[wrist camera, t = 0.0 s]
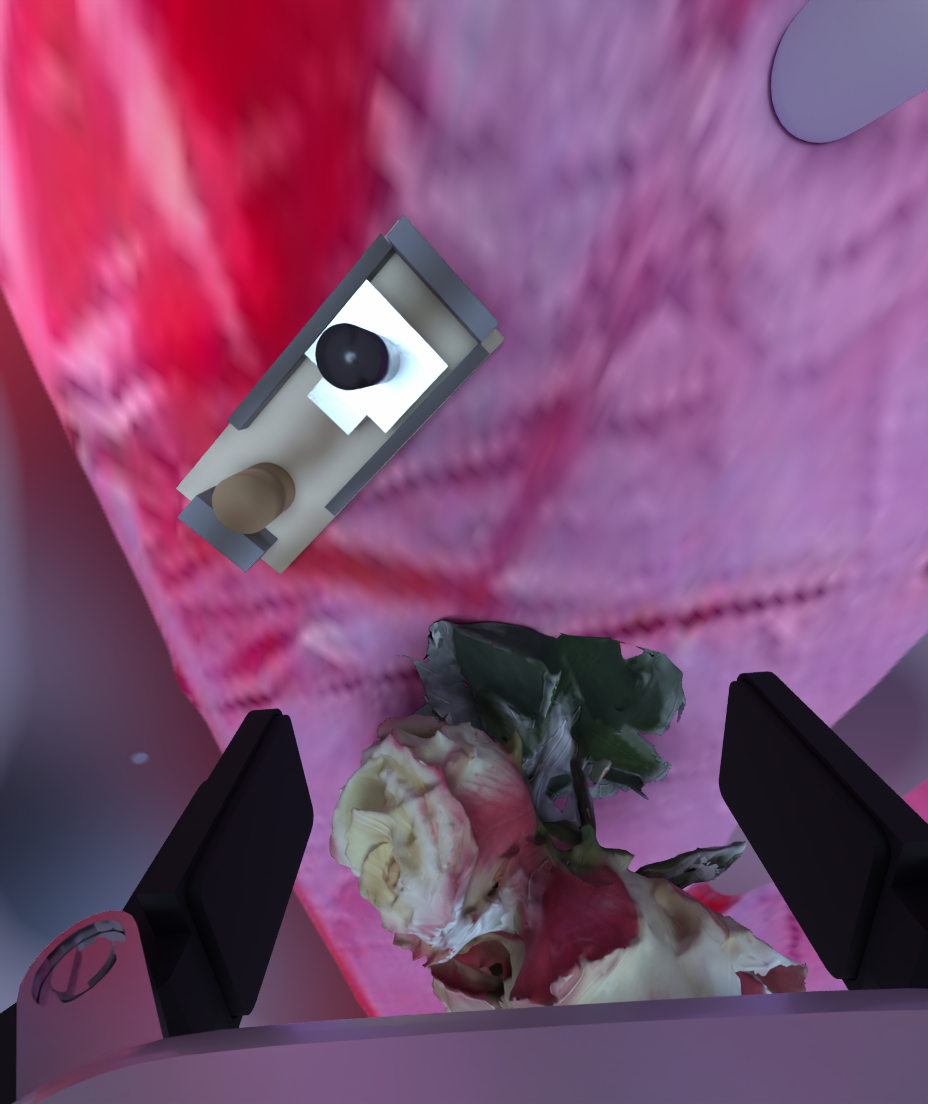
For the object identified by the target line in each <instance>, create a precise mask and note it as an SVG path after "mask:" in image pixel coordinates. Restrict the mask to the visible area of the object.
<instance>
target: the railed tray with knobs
mask: <svg viewBox="0 0 928 1104" xmlns="http://www.w3.org/2000/svg"><path fill="white" fill-rule="evenodd" d="M366 280H368V281H369V282H370V283H371V284H372V285H373V286H374V287H375V288H376V289H377V290H378V291H379V292H380V293H381V294H382V295H383V296H384V297H385V299H386V300H387V301H388V302H389V303H390V304H391V305H392V306H393V307H394V308H395V309H396V310H397V311H398V312H399V313H400V315H401V316H402V317H403V318H404V319H405V320H406V321H407V322H408V323H409V324H410V325H411V326H412V327H413V328H414V329H415V330H416V332H417V333H418V334H419V335H420V336H421V337H422V338H423V339H424V340H425V341H426V342H427V343H428V344H429V345H430V346H431V347H432V349H433V350H434V351H435V352H436V353H437V354H438V355H439V356H440V357H441V358H442V359H443V360H444V361H445V362H446V363H447V365H448V366H449V367H448V368H447V369H446V370H445V371H444V372H443V373H442V374H441V375H440V376H439V377H438V378H437V380H436V381H435V382H434V383H433V384H432V385H431V386H430V387H429V388H428V389H427V390H426V391H425V392H424V393H423V395H422V396H421V397H420V398H419V399H418V400H417V401H416V402H415V403H414V404H413V405H412V406H411V407H410V408H409V409H408V411H407V412H406V413H405V414H404V415H403V416H402V417H401V418H400V419H399V420H398V421H397V422H396V423H395V424H394V425H393V427H392V428H391V429H389V430H388V431H387V432H386V433H385V432H384V431H383V430H382V429H381V428H380V427H379V426H378V425H377V424H376V423H375V422H374V421H373V420H372V419H371V418H370V417H369V416H368V418H367V419H366V420H365V421H364V422H363V423H362V424H361V425H360V426H359V427H358V428H357V430H356V431H354V432H353V433H351V434H349V435H348V434H347V433H346V432H345V431H343V430H342V429H341V428H340V427H339V426H338V425H337V424H336V423H335V422H334V421H333V420H332V419H331V418H330V417H329V416H328V415H327V414H326V413H325V412H323V411H322V410H321V409H320V408H319V407H318V406H317V405H316V404H315V403H314V402H313V401H312V400H311V399H310V398H309V397H308V394H309V393H310V392H311V391H312V390H313V389H314V388H315V386H316V385H317V384H318V383H319V382H320V381H321V379H322V378H323V376H322V375H321V373H320V371H319V369H318V367H317V365H316V364H315V363H314V362H312V361H311V360H310V359H309V358H308V357H307V356H306V355H305V352H306V351H307V350H308V349H309V348H310V347H311V345H312V344H313V343H314V342H315V341H316V339H317V338H318V337H319V336H320V335H321V333H322V332H323V331H324V330H325V329H326V327H327V326H328V325H329V324H330V323H331V321H332V320H333V319H334V318H335V317H336V316H337V314H338V313H339V312H340V311H341V310H342V308H343V307H344V306H345V305H346V304H347V302H348V301H349V300H350V299H351V298H352V296H353V295H354V294H355V293H356V292H357V290H358V289H359V288H360V287H361V286H362V284H363V283H364V282H365V281H366ZM498 324H499V322H498V321H497V320H496V319H495V318H494V317H493V316H492V314H491V313H490V312H489V311H488V310H487V309H486V308H485V306H484V305H483V304H482V303H481V302H480V301H479V300H478V299H477V297H476V296H475V295H474V294H473V293H472V292H471V291H470V289H469V288H468V287H467V286H466V285H465V284H464V283H463V282H462V280H461V279H460V278H459V277H458V276H457V275H456V274H455V272H454V271H453V270H452V269H451V268H450V267H449V266H448V265H447V263H446V262H445V261H444V260H443V259H442V258H441V257H440V255H439V254H438V253H437V252H436V251H435V250H434V249H433V248H432V246H431V245H430V244H429V243H428V242H427V241H426V240H425V238H424V237H423V236H422V235H421V234H420V233H419V232H418V231H417V229H416V228H415V227H414V226H413V225H412V224H411V223H410V221H409V220H408V219H407V218H406V217H405V216H404V215H403V216H402V217H401V219H400V220H398V221H397V222H396V224H395V225H394V226H393V227H392V228H391V230H390V231H389V232H388V233H387V234H386V236H385V237H383V236H382V234H380V235H379V236H378V237H377V239H376V240H375V241H374V242H373V243H372V245H371V246H370V247H369V248H368V250H367V251H366V252H365V253H364V254H363V256H362V257H361V258H360V259H359V260H358V262H357V263H356V264H355V265H354V267H353V268H352V269H351V270H350V271H349V273H348V274H347V275H346V276H345V277H344V279H343V280H342V281H341V282H340V284H339V285H338V286H337V287H336V288H335V290H334V291H333V292H332V293H331V294H330V296H329V297H328V298H327V299H326V300H325V302H324V303H323V304H322V305H321V307H320V308H319V309H318V310H317V311H316V313H315V314H314V315H313V316H312V317H311V319H310V320H309V321H308V322H307V324H306V325H305V326H304V327H303V328H302V330H301V331H300V332H299V333H298V334H297V336H296V337H295V338H294V339H293V341H292V342H291V343H290V344H289V345H288V347H287V348H286V349H285V350H284V351H283V353H282V354H281V355H280V356H279V358H278V359H277V360H276V361H275V362H274V364H273V365H272V366H271V367H270V368H269V370H268V371H267V372H266V373H265V375H264V376H263V377H262V378H261V379H260V381H259V382H258V383H257V384H256V385H255V387H254V388H253V389H252V390H251V391H250V393H249V394H248V395H247V396H246V398H245V399H244V400H243V401H242V402H241V404H240V405H239V406H238V407H237V408H236V410H235V411H234V412H233V413H232V415H231V416H230V417H229V418H228V419H227V421H228V422H229V423H230V424H229V425H228V426H227V428H226V429H225V430H224V431H223V432H222V434H221V435H220V436H219V437H218V439H217V440H216V441H215V442H214V443H213V445H212V446H211V447H210V448H209V449H208V451H207V452H206V453H205V454H204V455H203V457H202V458H201V459H200V460H199V461H198V463H197V464H196V465H195V466H194V468H193V469H192V470H191V471H190V472H189V474H188V475H187V476H186V477H185V478H184V480H183V481H182V482H181V483H180V484H179V486H178V487H177V488H176V489H177V490H178V491H180V492H181V493H182V494H183V495H185V496H186V497H187V498H188V499H189V500H191V502H190V503H189V504H188V506H187V507H186V508H185V509H184V510H183V512H182V513H181V514H180V515H179V516H178V517H177V518H179V519H180V520H181V521H182V522H184V523H185V524H186V525H187V526H189V527H190V528H191V529H192V530H194V531H195V532H196V533H197V534H199V535H200V536H201V537H202V538H203V539H205V540H206V541H207V542H208V543H210V544H211V545H212V546H213V547H215V548H216V549H217V550H218V551H220V552H221V553H222V554H223V555H225V556H226V557H227V558H228V559H230V560H231V561H232V562H233V563H235V564H236V565H237V566H238V567H239V568H241V569H242V570H243V571H244V572H246V571H248V570H249V569H250V568H251V567H252V566H253V565H254V564H255V563H256V562H257V561H258V560H259V559H260V558H261V559H262V560H264V561H265V562H266V563H267V564H268V565H270V566H271V567H272V568H273V569H274V570H276V571H277V572H278V573H279V574H281V573H282V572H283V571H284V570H285V569H286V568H287V567H288V566H289V565H290V564H291V563H292V562H293V561H294V560H295V559H296V557H297V556H298V555H299V554H300V553H301V552H302V551H303V550H304V549H305V548H306V547H307V546H308V545H309V544H310V543H311V542H312V541H313V540H314V539H315V538H316V537H317V536H318V534H319V533H320V532H321V531H322V530H323V529H324V528H325V527H326V526H327V525H328V524H329V523H330V522H331V521H332V520H333V519H334V518H335V517H336V516H337V515H338V514H339V513H340V511H341V510H342V509H343V508H344V507H345V506H346V505H347V504H348V503H349V502H350V501H351V500H352V499H353V498H354V497H355V496H356V495H357V494H358V493H359V492H360V491H361V489H362V488H363V487H364V486H365V485H366V484H367V483H368V482H369V481H370V480H371V479H372V478H373V477H374V476H375V475H376V474H377V473H378V472H379V471H380V470H381V469H382V468H383V466H384V465H385V464H386V463H387V462H388V461H389V460H390V459H391V458H392V457H393V456H394V455H395V454H396V453H397V452H398V451H399V450H400V449H401V448H402V447H403V446H404V445H405V443H406V442H407V441H408V440H409V439H410V438H411V437H412V436H413V435H414V434H415V433H416V432H417V431H418V430H419V429H420V428H421V427H422V426H423V425H424V424H425V423H426V421H427V420H428V419H429V418H430V417H431V416H432V415H433V414H434V413H435V412H436V411H437V410H438V409H439V408H440V407H441V406H442V405H443V404H444V403H445V402H446V401H447V400H448V398H449V397H450V396H451V395H452V394H453V393H454V392H455V391H456V390H457V389H458V388H459V387H460V386H461V385H462V384H463V383H464V382H465V381H466V380H467V379H468V378H469V377H470V375H471V374H472V373H473V372H474V371H475V370H476V369H477V368H478V367H479V366H480V365H481V364H482V363H483V362H484V361H485V360H486V359H487V358H488V357H489V356H490V355H491V353H492V352H493V351H494V350H495V349H496V348H497V347H498V346H499V345H500V344H501V343H502V342H503V341H504V340H505V338H504V337H503V336H502V335H501V334H500V333H499V332H498V331H497V329H496V327H497V325H498ZM263 462H268V463H273V464H276V465H278V466H280V467H282V468H283V469H284V470H286V471H287V472H288V473H289V475H290V476H291V478H292V480H293V482H294V485H295V498H294V501H293V503H292V504H291V506H290V507H289V508H288V509H286V510H285V511H284V512H283V513H282V514H280V515H279V516H278V517H277V518H276V519H274V520H273V521H272V522H271V523H270V524H268V525H267V526H266V527H265V528H263V529H262V530H260V531H258V532H256V533H252V534H241V533H237V532H234V531H232V530H230V529H228V528H227V527H225V526H224V525H223V524H222V523H221V522H220V521H219V520H218V518H217V517H216V515H215V513H214V510H213V506H212V495H213V492H214V490H215V488H216V486H217V485H218V484H219V483H220V482H221V481H223V480H224V479H226V478H228V477H230V476H232V475H234V474H237V473H239V472H241V471H243V470H245V469H247V468H249V467H251V466H253V465H255V464H258V463H263Z"/></svg>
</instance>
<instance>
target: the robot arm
mask: <svg viewBox="0 0 928 1104" xmlns="http://www.w3.org/2000/svg"><path fill="white" fill-rule="evenodd" d="M719 788H720V792H721V795H722V797H723V799H724V801H725V803H726V804H727V806H728V808H729V809H730V811H731V813H732V814H733V816H734V818H735V819H736V821H737V822H738V824H739V826H740V827H741V829H742V831H743V832H744V834H745V836H746V837H747V839H748V840H749V842H750V844H751V846H752V847H753V849H754V850H755V852H756V854H757V855H758V857H759V859H760V860H761V862H762V864H763V865H764V867H765V868H766V870H767V872H768V874H769V875H770V877H771V878H772V880H773V882H774V883H775V885H776V887H777V888H778V890H779V892H780V893H781V895H782V897H783V898H784V900H785V902H786V903H787V905H788V906H789V908H790V910H791V911H792V913H793V915H794V916H795V918H796V920H797V921H798V923H799V925H800V926H801V928H802V930H803V931H804V933H805V934H806V936H807V938H808V939H809V941H810V943H811V944H812V946H813V948H814V949H815V951H816V953H817V954H818V956H819V958H820V959H821V961H822V962H823V964H824V966H825V967H826V969H827V970H828V972H829V973H830V974H831V975H832V976H833V977H834V978H836V979H842V980H843V982H844V983H845V985H846V987H847V988H848V990H843V991H814V992H792V993H774V994H755V995H737V996H718V997H700V998H682V999H663V1000H645V1001H629V1002H612V1003H595V1004H578V1005H561V1006H545V1007H529V1008H512V1009H496V1010H480V1011H464V1012H449V1013H434V1014H419V1015H404V1016H389V1017H374V1018H359V1019H345V1020H331V1021H316V1022H304V1023H292V1024H282V1025H269V1026H259V1027H246V1028H239V1025H240V1022H241V1019H242V1016H243V1015H249V1014H250V1013H251V1011H252V1010H253V1008H254V1006H255V1003H256V1000H257V997H258V994H259V991H260V988H261V985H262V982H263V978H264V975H265V972H266V969H267V966H268V963H269V960H270V956H271V954H272V951H273V948H274V944H275V941H276V938H277V935H278V932H279V929H280V926H281V923H282V919H283V917H284V913H285V910H286V907H287V904H288V901H289V898H290V895H291V892H292V889H293V886H294V882H295V879H296V876H297V873H298V870H299V867H300V864H301V861H302V858H303V855H304V851H305V848H306V845H307V842H308V839H309V836H310V833H311V830H312V826H313V807H312V803H311V799H310V795H309V791H308V787H307V783H306V779H305V775H304V771H303V767H302V763H301V759H300V755H299V751H298V747H297V743H296V739H295V735H294V731H293V727H292V723H291V719H290V717H289V716H288V715H282V712H281V711H280V709H264V710H252V711H250V712H249V713H248V714H247V716H246V717H245V719H244V721H243V722H242V724H241V726H240V727H239V729H238V730H237V732H236V734H235V735H234V737H233V739H232V740H231V742H230V743H229V745H228V747H227V748H226V750H225V752H224V753H223V755H222V757H221V758H220V760H219V761H218V763H217V765H216V767H215V768H214V770H213V771H212V773H211V774H210V776H209V778H208V779H207V780H206V781H204V782H203V783H202V784H201V786H200V787H199V788H198V790H197V791H196V793H195V795H194V796H193V798H192V799H191V801H190V803H189V804H188V806H187V807H186V809H185V811H184V812H183V814H182V815H181V817H180V819H179V820H178V822H177V824H176V825H175V827H174V828H173V830H172V832H171V833H170V835H169V836H168V838H167V839H166V841H165V843H164V844H163V846H162V848H161V849H160V851H159V852H158V854H157V856H156V857H155V859H154V860H153V862H152V864H151V865H150V867H149V868H148V870H147V872H146V873H145V875H144V876H143V878H142V880H141V881H140V883H139V885H138V886H137V888H136V889H135V891H134V892H133V894H132V896H131V897H130V899H129V901H128V902H127V904H126V905H125V907H124V909H123V910H122V911H115V910H109V911H105V912H101V913H98V914H94V915H92V916H90V917H88V918H86V919H84V920H81V921H79V922H77V923H76V924H74V925H73V926H71V927H70V928H68V929H67V930H66V931H64V932H63V933H61V934H60V935H59V936H57V937H56V938H55V939H54V940H53V941H52V942H51V943H50V944H49V945H48V946H47V947H46V948H45V949H44V950H43V951H42V952H41V953H40V954H39V956H38V957H37V958H36V959H35V961H34V962H33V963H32V965H31V966H30V967H29V969H28V971H27V973H26V974H25V977H24V978H23V980H22V982H21V984H20V987H19V992H18V997H17V1002H16V1003H15V1004H13V1005H12V1006H10V1007H9V1008H8V1009H6V1010H5V1011H3V1012H2V1013H0V1104H928V824H927V823H926V822H925V821H924V820H923V819H922V818H921V817H920V816H919V815H918V814H917V813H916V812H915V811H914V810H913V809H912V808H911V807H910V806H909V805H908V804H907V803H906V802H905V801H904V800H903V799H902V798H901V797H900V796H898V795H897V794H896V793H895V792H894V791H893V790H892V789H891V788H890V787H889V786H888V785H887V784H886V783H885V782H884V781H883V780H882V779H881V778H880V777H879V776H878V775H877V774H876V773H875V772H874V771H873V770H872V769H871V768H870V767H869V766H868V765H867V764H866V763H865V762H864V761H863V760H862V759H861V758H860V757H858V756H857V754H856V753H854V751H852V749H851V748H849V747H848V746H847V745H846V744H845V743H844V742H843V741H842V740H841V739H840V738H839V737H838V736H837V735H836V734H835V733H834V732H833V731H832V730H831V729H830V728H829V727H828V726H827V725H826V724H825V723H824V722H823V721H822V720H821V719H820V718H819V717H818V716H817V715H816V714H815V713H814V712H813V711H812V710H811V709H810V708H809V707H808V706H807V705H806V704H805V703H804V702H803V701H802V700H800V699H799V698H798V697H797V696H796V695H795V694H794V693H793V692H792V691H791V690H790V689H789V688H788V687H787V686H786V685H785V684H784V683H783V682H782V681H781V680H780V679H779V678H778V677H777V676H776V675H775V674H773V673H772V672H768V671H767V672H754V673H742V674H740V675H739V676H738V678H737V681H733V682H731V684H730V687H729V696H728V704H727V713H726V722H725V731H724V739H723V748H722V757H721V766H720V774H719Z"/></svg>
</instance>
